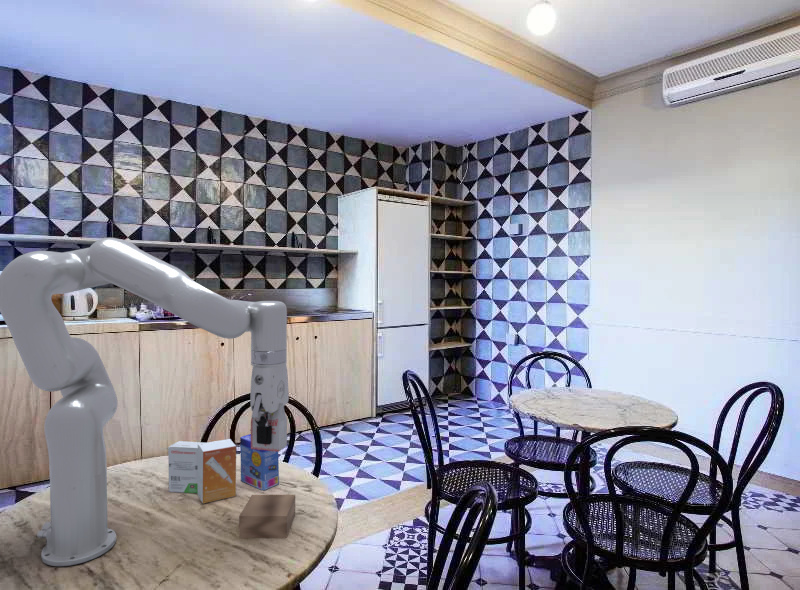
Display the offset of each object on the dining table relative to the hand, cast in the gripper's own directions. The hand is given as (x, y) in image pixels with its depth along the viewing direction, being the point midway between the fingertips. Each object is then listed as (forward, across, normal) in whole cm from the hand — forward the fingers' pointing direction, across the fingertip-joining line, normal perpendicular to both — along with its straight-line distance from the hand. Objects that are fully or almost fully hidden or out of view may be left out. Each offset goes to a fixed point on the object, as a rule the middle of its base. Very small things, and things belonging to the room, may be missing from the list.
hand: (268, 439), depth 107 cm
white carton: (+2, 0, 0) cm, 2 cm away
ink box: (+20, +13, +28) cm, 37 cm away
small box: (+20, +11, +19) cm, 29 cm away
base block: (+20, 0, 0) cm, 20 cm away
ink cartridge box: (+20, +20, +12) cm, 31 cm away
